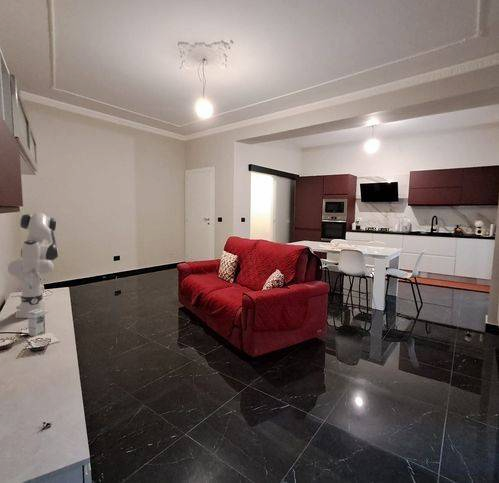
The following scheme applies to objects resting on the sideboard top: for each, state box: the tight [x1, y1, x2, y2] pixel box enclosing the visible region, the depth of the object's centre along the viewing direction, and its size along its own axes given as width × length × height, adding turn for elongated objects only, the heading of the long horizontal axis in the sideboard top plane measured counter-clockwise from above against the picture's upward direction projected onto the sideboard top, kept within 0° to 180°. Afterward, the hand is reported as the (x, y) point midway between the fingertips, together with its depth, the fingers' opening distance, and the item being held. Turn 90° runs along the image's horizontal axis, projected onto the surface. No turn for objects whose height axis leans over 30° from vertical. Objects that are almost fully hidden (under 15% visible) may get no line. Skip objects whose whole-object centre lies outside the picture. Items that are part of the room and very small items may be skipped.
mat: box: [25, 332, 61, 345], centre depth 166 cm, size 16×12×1 cm
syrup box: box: [27, 309, 46, 337], centre depth 173 cm, size 6×6×14 cm
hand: (32, 290), depth 177 cm, fingers open, 5 cm apart
